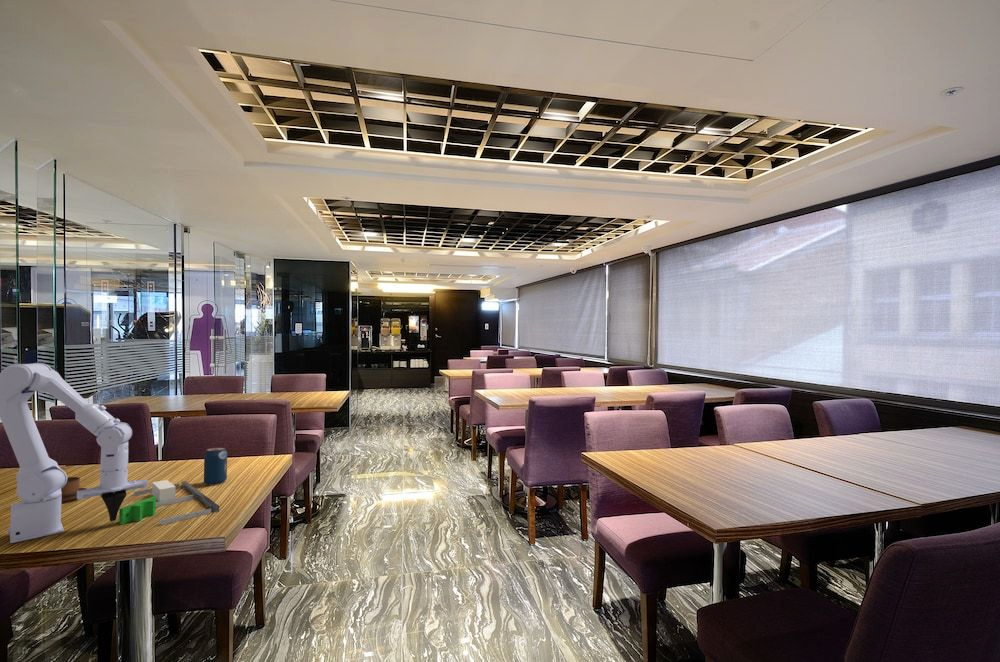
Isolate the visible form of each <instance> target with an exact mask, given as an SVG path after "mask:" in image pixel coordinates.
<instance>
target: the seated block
mask: <svg viewBox="0 0 1000 662" xmlns="http://www.w3.org/2000/svg"><path fill="white" fill-rule="evenodd" d="M173 484H174V483H172V482H171V481H170V480H168V479H164V480H159V481H153V482H151V488H152V493H151V495H152V497H156V501H157V502H160V501H165V500H170V499H175V498H176V489H177V488H176V487H175V486H174V485H173Z"/></svg>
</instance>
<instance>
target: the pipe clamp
mask: <svg viewBox="0 0 1000 662" xmlns="http://www.w3.org/2000/svg"><path fill="white" fill-rule="evenodd" d="M156 502H157V499H156V497H154V496H151V497H148V498H145V499H142V500H139V501H137V502H134V503H131V504H129V505H127V506H124V507H121V508H119V510H118V513H119V514H118V515H119V517H118V525H121V526H123V525H125V524H127V523H130V522H142V521H143V518H145V517H153V516H156V508H157V507H156Z"/></svg>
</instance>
